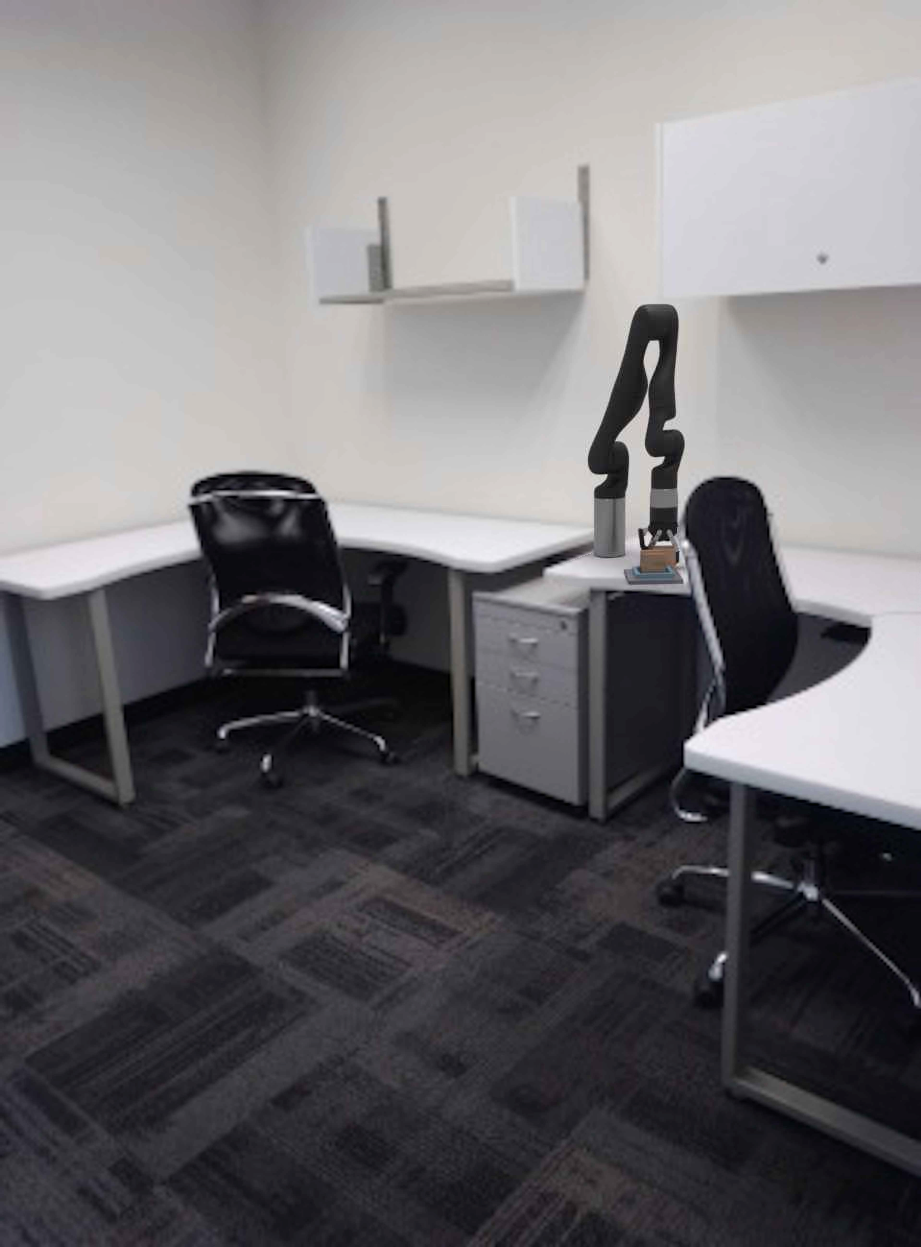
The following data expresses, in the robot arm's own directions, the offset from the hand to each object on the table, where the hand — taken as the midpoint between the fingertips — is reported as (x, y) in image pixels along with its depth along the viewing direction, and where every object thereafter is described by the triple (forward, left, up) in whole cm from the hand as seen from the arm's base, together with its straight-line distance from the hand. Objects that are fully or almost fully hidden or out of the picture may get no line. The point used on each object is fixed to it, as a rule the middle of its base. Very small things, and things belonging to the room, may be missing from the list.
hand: (662, 564), depth 269 cm
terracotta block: (0, 0, -1) cm, 1 cm away
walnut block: (+11, -4, 0) cm, 12 cm away
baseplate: (+11, -4, -1) cm, 12 cm away
